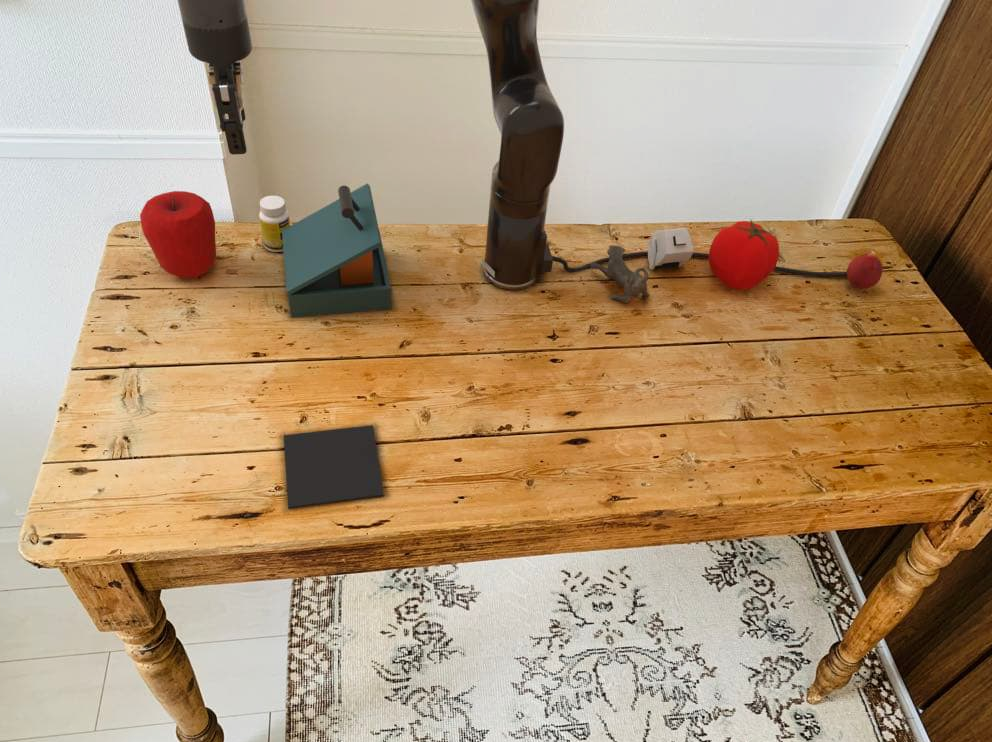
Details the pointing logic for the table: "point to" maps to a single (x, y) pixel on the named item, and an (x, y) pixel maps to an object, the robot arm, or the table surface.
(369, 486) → the mat
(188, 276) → the apple
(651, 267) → the light grey block
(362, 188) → the lunchbox lid
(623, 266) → the dog figurine
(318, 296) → the box
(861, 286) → the onion
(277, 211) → the supplement bottle
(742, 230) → the tomato
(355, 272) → the block
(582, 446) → the table surface
